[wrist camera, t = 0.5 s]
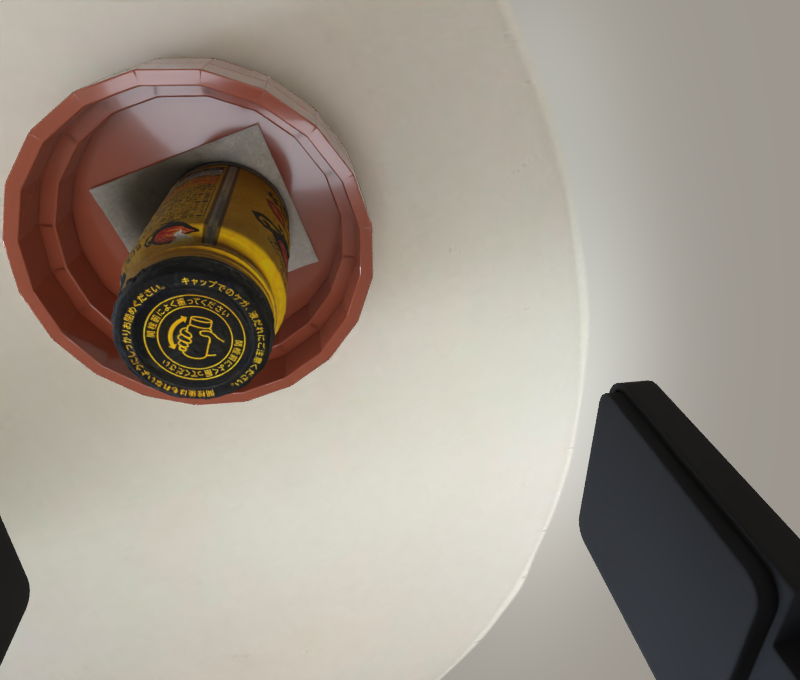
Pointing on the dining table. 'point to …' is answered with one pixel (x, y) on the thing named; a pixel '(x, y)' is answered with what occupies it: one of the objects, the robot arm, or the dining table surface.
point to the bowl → (156, 142)
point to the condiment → (204, 265)
